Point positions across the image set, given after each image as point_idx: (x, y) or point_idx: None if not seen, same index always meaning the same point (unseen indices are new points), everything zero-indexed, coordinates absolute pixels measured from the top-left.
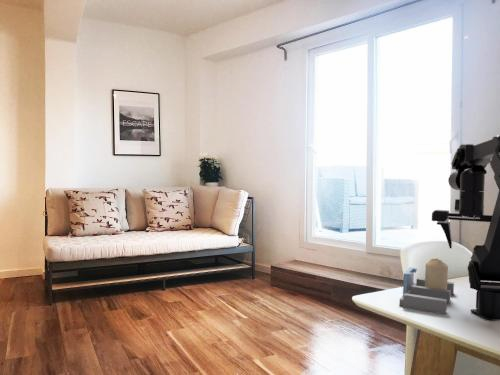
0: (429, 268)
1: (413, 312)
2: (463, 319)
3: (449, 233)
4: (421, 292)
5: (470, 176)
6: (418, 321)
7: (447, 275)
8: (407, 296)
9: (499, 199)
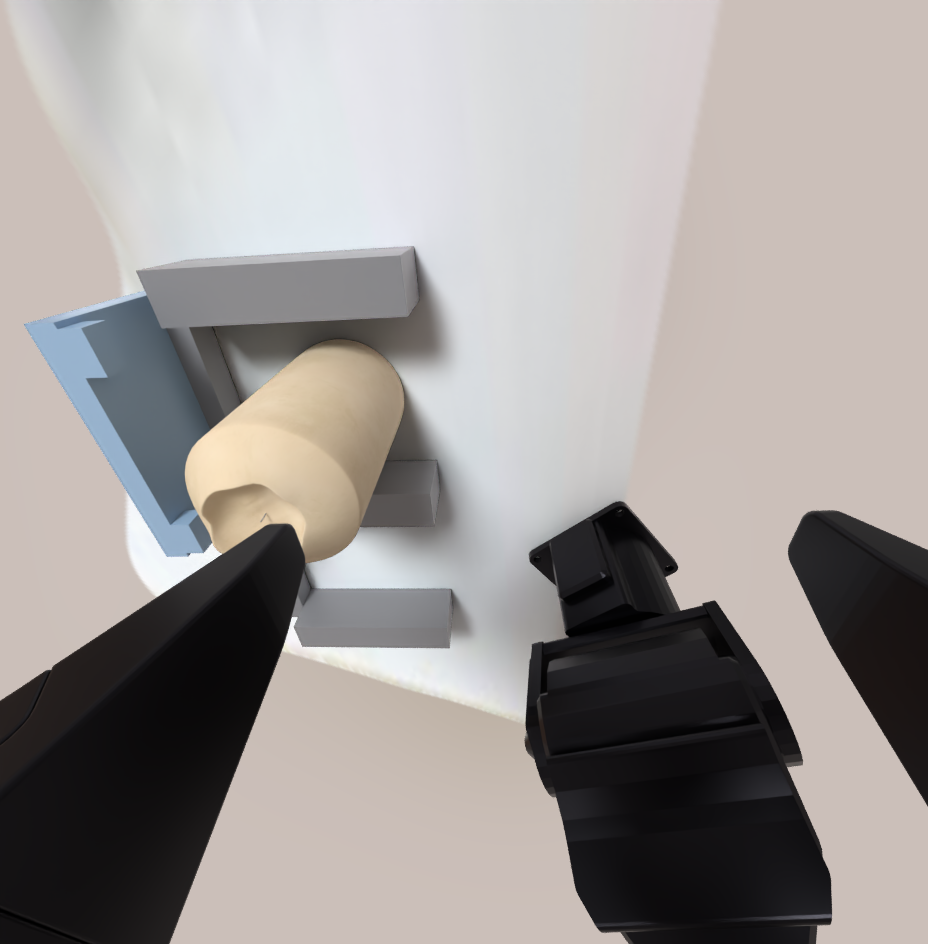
0: None
1: None
2: (510, 624)
3: (192, 872)
4: None
5: None
6: (405, 681)
7: (377, 460)
8: (318, 643)
9: None
